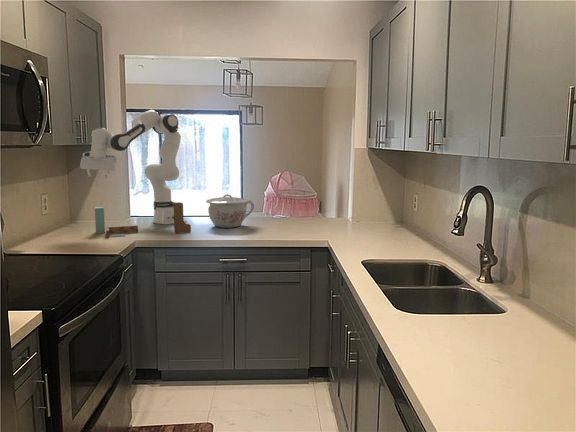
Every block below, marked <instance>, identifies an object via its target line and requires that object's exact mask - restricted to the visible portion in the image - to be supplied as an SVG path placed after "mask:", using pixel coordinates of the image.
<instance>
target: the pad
mask: <svg viewBox="0 0 576 432" xmlns="http://www.w3.org/2000/svg"><path fill="white" fill-rule="evenodd" d="M109 236H110V238H116V237H117V238H118V237H120V238H121V237H126V233H118V234H109Z"/></svg>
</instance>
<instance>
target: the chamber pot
mask: <svg viewBox="0 0 576 432" xmlns="http://www.w3.org/2000/svg"><path fill="white" fill-rule="evenodd" d="M232 196H233V195H231V194H224V195H223V196H222V197H214V198H209V199H207V200H205V202H206V203H208V204H209V206H208V209H207V210H208V211H207V212H208V216H209V219H210V221H211V223H212V225H214V226H215V227H218V228H219V229H220V228H221V229H233V228H237V227H240V226H241V225H242V224H243V222H244V221H245V220H246V218H247V217H249V216H250V214H252V213H253V211H254V209H255V204H254V201H252V200H251V199H246V198H243V197H242V198H241V197H235V196H233V197H232ZM248 204H250V205H251V206H250V210H249V211H247V210H248V209H247V205H248Z"/></svg>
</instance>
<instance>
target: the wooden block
mask: <svg viewBox="0 0 576 432" xmlns="http://www.w3.org/2000/svg"><path fill="white" fill-rule="evenodd" d="M183 218H184V203H183V202H182V201H181V202H180V201H179V202H175V203H174V224H173V227H174V233H176V234H183V233H184V234H185V233H191V232H192V227H191V226H192V225H191V224H190V223H187V222H185V223H184V220H183Z"/></svg>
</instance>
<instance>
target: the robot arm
mask: <svg viewBox="0 0 576 432" xmlns="http://www.w3.org/2000/svg"><path fill="white" fill-rule="evenodd" d="M151 129H152V130H153V131H154V132H155V133H156V134H157V135H163V140H162V143H161V146H160V150H159V153H158V154H159V157H160V158H161V159H162V161H161V163H151V164H148V165H146V167H145V169H144V176H145V177H146V178H147V179H148V180H149V181H150V183H151V186H152V189H153V200H154V201H153V218H152V223H153V224H159V225H161V224H162V225H172V224H173V225H174V203H176V201H172V191H171V188H170V187H169V186H168V185H167V183H166V182H172V181H175V180H177V179H178V178H179V176H180V169H179V167H178V166H177V164H176V162H177V161H176V159H177V154H178V152H179V148H180V145H181V140H182V139H181V138H182V135H181V134H180V132H178V131H179V119H178V117H177V116H176V115H175V114H172V113H169V114H168V113H167V114H165V115H162V116H161V115H159V113H158V112H157V111H156V110H154V109H150V110H147V111H144V112H141V113H140V114H139V115H137V116H136V117H134V118H133V119H132V120H131V128H129V130H127V131H126V132H123V133H119V134H114V133H111V132H109V131H108V130H107V129H106V128H105V127H96V128H93V129H92V131H91V136H92V143H91V147H90V150H89V151H86V152H83V153H82V157H81V159H80V163H79V168H80V169H81V170H86V172H87V177H89V178H91V177H92V174H91V173H90V171H91V170H97V171H106V174H104V178H105V179H108V175H109V174H110V171H116V170H117V166H116V165H117V164H116V163H117V157H116V156H115V155H110V154H107V150H109V151H119V152H123V151H126V150H127V149H128V147H129V145H130V144H131V143H132V142H133V141H135V140H136V139H137V138H138V137H140V136H141V135H142V134H145V133H147V132H148V131H150V130H151ZM183 220H184V223H187V222H188V219H186V218H184V217H183Z"/></svg>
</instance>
